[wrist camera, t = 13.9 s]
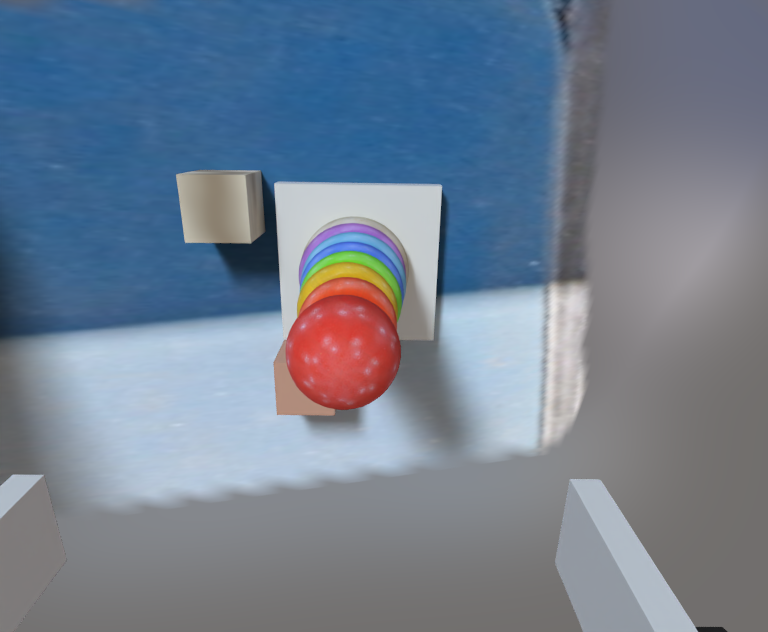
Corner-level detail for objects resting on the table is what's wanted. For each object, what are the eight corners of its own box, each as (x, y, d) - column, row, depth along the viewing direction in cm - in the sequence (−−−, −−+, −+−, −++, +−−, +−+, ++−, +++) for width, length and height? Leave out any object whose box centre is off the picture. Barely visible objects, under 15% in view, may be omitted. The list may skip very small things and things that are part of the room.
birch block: (206, 230, 38) (185, 242, 33) (200, 170, 36) (176, 174, 32) (265, 231, 38) (250, 243, 33) (261, 170, 36) (245, 175, 32)
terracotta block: (287, 387, 42) (277, 414, 38) (284, 339, 41) (273, 362, 37) (339, 387, 42) (334, 415, 38) (338, 340, 41) (333, 363, 37)
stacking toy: (397, 324, 39) (410, 480, 21) (296, 306, 38) (223, 452, 20) (417, 225, 36) (452, 310, 18) (310, 205, 35) (239, 272, 18)
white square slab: (286, 331, 40) (283, 338, 39) (278, 181, 36) (274, 183, 35) (431, 333, 41) (433, 340, 39) (439, 184, 36) (442, 186, 35)
